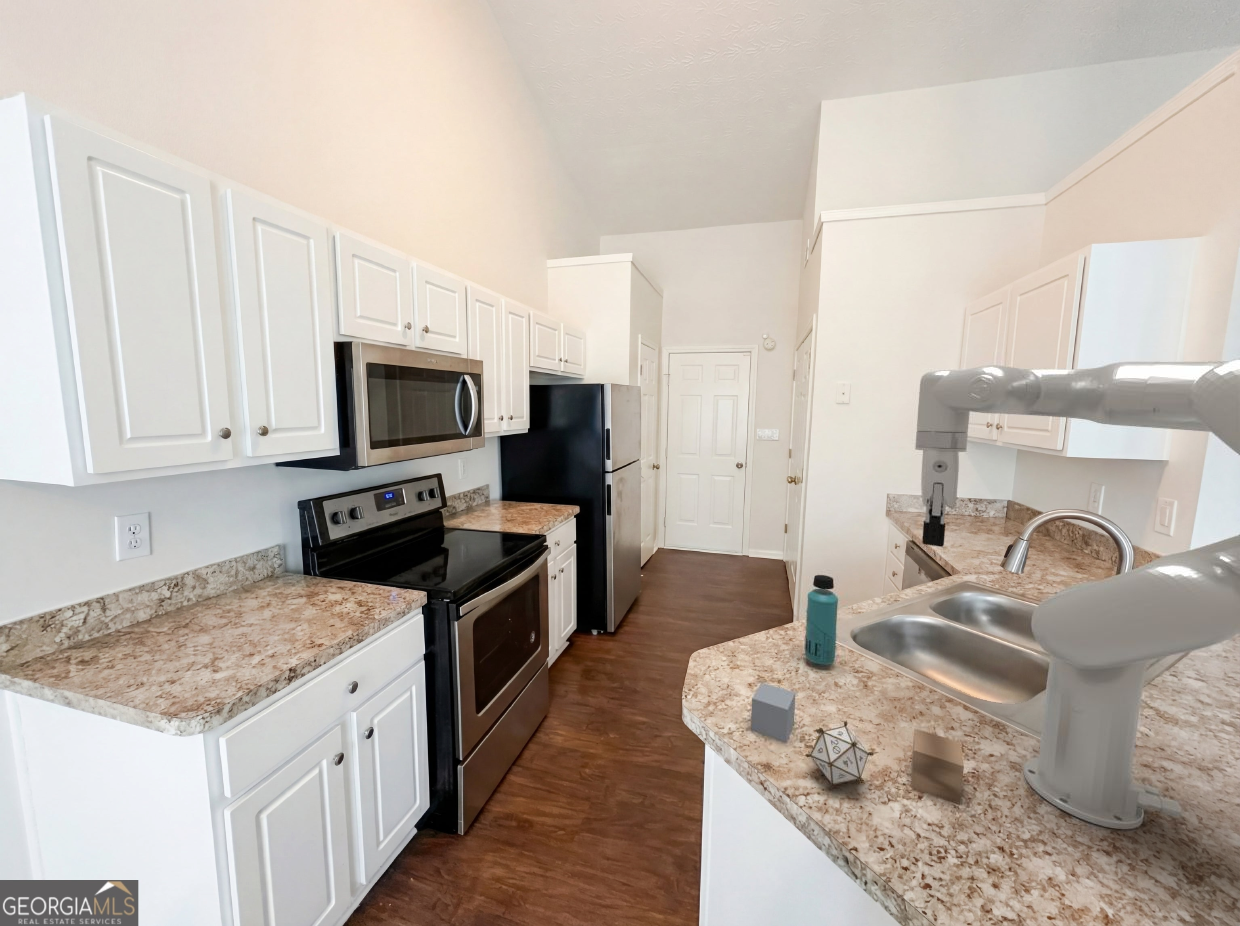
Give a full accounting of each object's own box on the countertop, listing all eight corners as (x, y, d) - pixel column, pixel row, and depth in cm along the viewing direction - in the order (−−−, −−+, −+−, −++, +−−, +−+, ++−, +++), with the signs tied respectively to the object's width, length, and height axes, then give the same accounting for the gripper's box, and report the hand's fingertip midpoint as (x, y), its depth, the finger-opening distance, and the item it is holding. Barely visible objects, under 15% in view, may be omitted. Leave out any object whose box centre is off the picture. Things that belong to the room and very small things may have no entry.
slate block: (793, 724, 86) (795, 692, 85) (786, 743, 81) (787, 709, 80) (760, 713, 89) (761, 682, 89) (750, 730, 84) (752, 698, 83)
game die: (849, 810, 72) (887, 790, 65) (794, 782, 73) (826, 760, 67) (849, 749, 79) (883, 726, 72) (798, 725, 80) (828, 700, 73)
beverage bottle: (837, 662, 108) (842, 575, 106) (832, 675, 103) (837, 583, 101) (806, 654, 112) (811, 569, 110) (800, 666, 106) (805, 577, 104)
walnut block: (957, 779, 73) (960, 742, 73) (960, 805, 68) (963, 766, 68) (911, 763, 77) (914, 728, 76) (911, 788, 72) (913, 750, 71)
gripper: (970, 445, 76) (961, 558, 78) (963, 441, 89) (955, 539, 91) (915, 443, 80) (907, 550, 82) (916, 440, 93) (909, 533, 95)
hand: (932, 544), depth 87 cm, fingers closed
